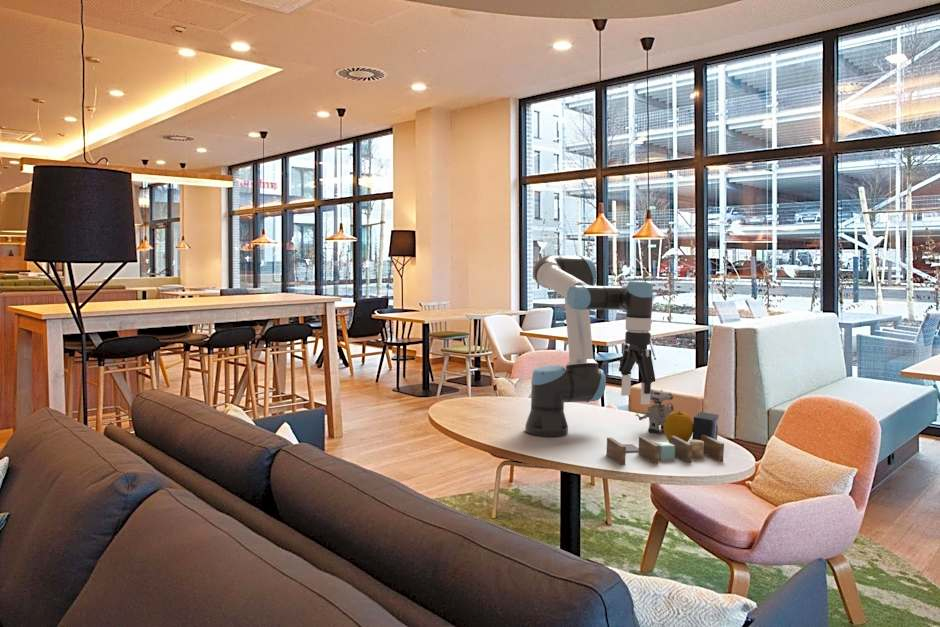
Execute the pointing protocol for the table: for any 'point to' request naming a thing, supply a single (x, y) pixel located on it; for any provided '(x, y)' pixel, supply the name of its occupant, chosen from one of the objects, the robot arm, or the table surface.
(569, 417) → the table surface
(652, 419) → the figurine
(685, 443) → the divider rack
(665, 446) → the letter cube
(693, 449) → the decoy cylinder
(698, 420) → the small box
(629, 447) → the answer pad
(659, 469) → the table surface
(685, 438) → the apple
